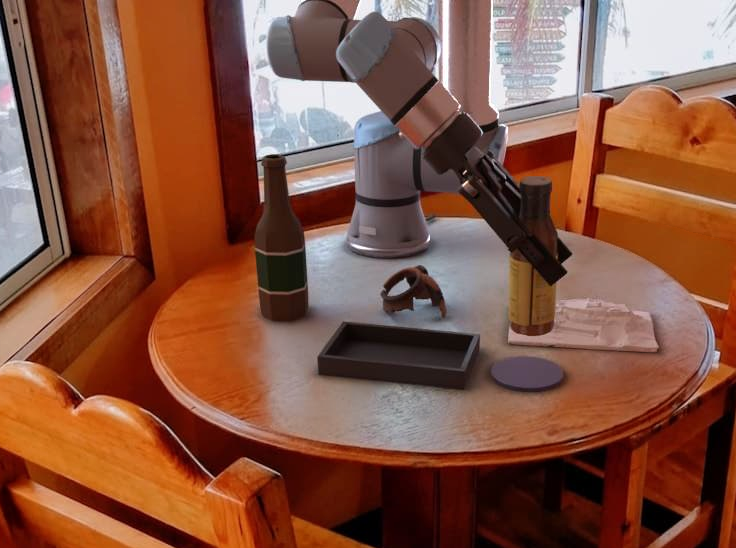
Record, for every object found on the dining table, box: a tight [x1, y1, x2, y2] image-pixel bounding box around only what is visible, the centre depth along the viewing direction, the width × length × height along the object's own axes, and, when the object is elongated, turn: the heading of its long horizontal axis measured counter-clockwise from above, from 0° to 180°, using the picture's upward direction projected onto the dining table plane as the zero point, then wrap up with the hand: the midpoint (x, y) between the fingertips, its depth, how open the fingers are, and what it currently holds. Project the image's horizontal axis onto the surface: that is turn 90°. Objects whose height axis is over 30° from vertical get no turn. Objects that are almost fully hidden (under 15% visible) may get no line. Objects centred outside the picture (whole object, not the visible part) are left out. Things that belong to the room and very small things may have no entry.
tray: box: [316, 320, 481, 391], centre depth 139 cm, size 13×21×3 cm, turn 77°
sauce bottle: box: [507, 175, 559, 336], centre depth 127 cm, size 7×6×20 cm
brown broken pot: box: [379, 264, 448, 319], centre depth 154 cm, size 12×10×8 cm
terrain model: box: [507, 297, 660, 353], centre depth 148 cm, size 17×23×5 cm
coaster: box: [490, 355, 564, 393], centre depth 136 cm, size 10×10×1 cm
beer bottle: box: [254, 153, 309, 322], centre depth 148 cm, size 8×8×24 cm
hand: (561, 269), depth 127 cm, fingers closed on sauce bottle, 6 cm apart
